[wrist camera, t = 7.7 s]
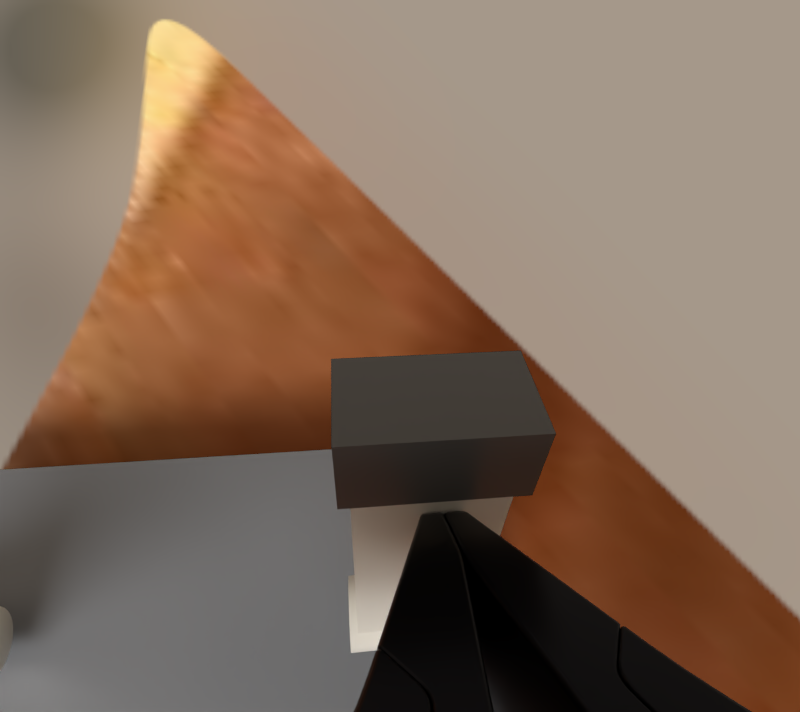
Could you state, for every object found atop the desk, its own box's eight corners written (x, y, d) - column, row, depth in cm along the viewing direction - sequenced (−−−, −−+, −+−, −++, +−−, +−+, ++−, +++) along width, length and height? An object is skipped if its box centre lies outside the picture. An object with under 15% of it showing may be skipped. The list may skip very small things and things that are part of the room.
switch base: (478, 753, 15) (497, 787, 13) (-108, 827, 13) (-191, 879, 11) (446, 451, 18) (457, 441, 16) (-34, 481, 16) (-89, 474, 14)
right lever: (472, 650, 13) (556, 433, 7) (352, 662, 13) (330, 447, 7) (459, 582, 15) (520, 350, 8) (349, 592, 14) (331, 359, 8)
